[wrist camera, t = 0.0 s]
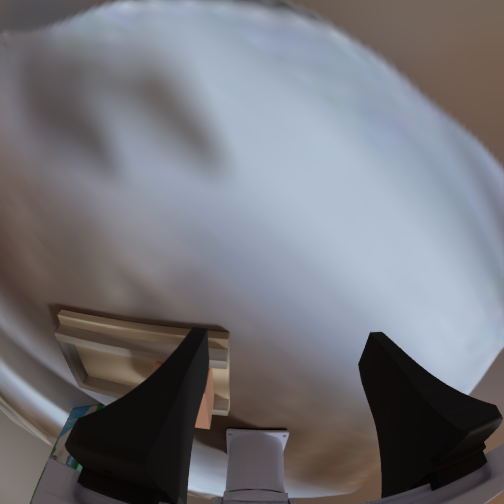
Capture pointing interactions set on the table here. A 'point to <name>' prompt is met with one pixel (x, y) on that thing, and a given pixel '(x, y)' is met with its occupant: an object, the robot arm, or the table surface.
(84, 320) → the chute
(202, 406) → the block
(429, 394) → the robot arm
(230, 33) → the table surface
